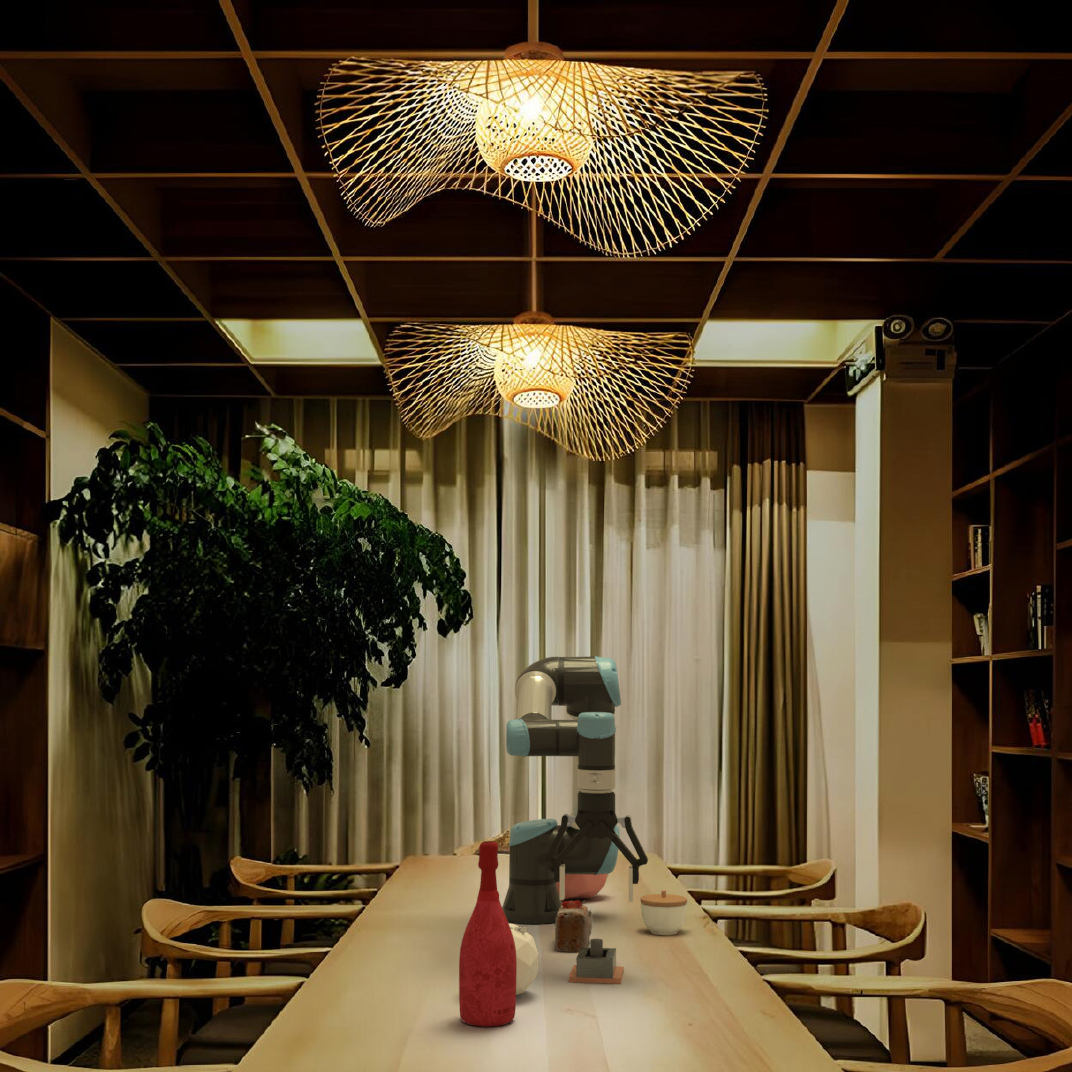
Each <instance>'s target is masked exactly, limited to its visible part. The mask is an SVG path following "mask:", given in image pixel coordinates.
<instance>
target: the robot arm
mask: <svg viewBox="0 0 1072 1072" xmlns="http://www.w3.org/2000/svg"><path fill="white" fill-rule="evenodd" d="M619 681H620V680H619V674H618V668H617V663H616V661H615V660H614V659H613V658H612V657H604V656H603V657H602V656H598V655H595V656H549V657H545V658H542V659H539V660H537V661H535V662H533V663H532V664H530V665H528V666H527V667H525V669H524V670H523V671H521V672H520V674H519V675H518V677H517V679H516V681H515V686H514V696H515V698H516V700H517V702H518V704H517V714H516V715H517V716H516V719H510V720H508V721H507V723H506V726H505V727H506V729H505V730H506V735H505V739H506V740H505V741H506V743H505V746H506V753H507V754H508V755H510V756H511V757H512V756H514V757H515V756H516V757H522V758H526V757H572V783H571V785H572V789H571V790H572V791H571V792H572V794H571V795H572V799H571V800H572V801H571V803H572V804H571V805H572V806H571V807H572V808H571V809H572V810H571V813H570V814H568V813H565V814H563V815H562V816H561V820H560V821H561V822H560V824H559V825H558V823H559V822H558V821H557V819H556V818H542V819H541V818H540V819H532V820H527V821H526V820H525V821H522V822H518V823H515V824H514V825H512V826H511V828H510V830H509V843H508V846H509V859H508V860H509V863H508V866H509V868H508V869H509V871H508V873H509V875H508V883H509V884H508V888H507V891H506V895H505V898H504V901H503V904H502V909H503V911H504V914H505V916H506V918H507V921H508V923H510V922H511V923H514V924H528V925H530V924H531V925H532V924H533V925H535V924H536V925H540V924H550V923H555V921H556V920H555V918H556V917H557V916H556V915H557V913H558V911H559V909H560V907H561V905H562V903H563V901H565V900H564V898H565V874H590V875H598V874H609V875H610V874H611V873H613V872H614V870H615V868H616V867H617V860H618V856H619V855H618V853H619V852H621V855H623V856H624V858H626V860H627V861H628V862H629V864H630V865H629V866H628V903H633V902H634V885H639V881H640V867H642V866H644V865H647V864H648V861H649V858H648V857H647V854H646V852H645V849H644V848H643V846H642V844H641V841H640V839H639V838H638V835H637V834H636V832H635V829H634V827H633V824H632V823H633V822H632V816H631V815H629V814H627V815H625V816H617V814H616V793H615V792H614V791H613V790H615V789H616V765H615V764H616V762H615V761H616V733H617V732H616V731H617V728H616V721H615V720H616V719H615V714H616V708H618V707H620V706H621V705H622V700H621V688H620V684H619ZM553 706H559V707H560V706H561V707H566V715H568V716H569V717H570V718H571V719H552V716H553V714H552V713H553V712H552V707H553ZM618 824H620V825H621V827H622V828H623V829H625V831H626V833H627V835H628V837H629V840H630V842H631V844H632V847H634V850H635V852H636V854H637V856H638V858H637V857H636V856H635V855H634V854H633V853H632V851H631V850H630V849H629V848H628V847H627V845H626V844H625V843H624V841H623V840H622V838H620V827H619V826H618ZM557 882H560V895H559V892H558V888H557Z"/></svg>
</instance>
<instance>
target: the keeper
mask: <svg viewBox="0 0 1072 1072" xmlns="http://www.w3.org/2000/svg"><path fill="white" fill-rule="evenodd" d="M603 941H604V940H603V939H601V938H591V939H590V948H591V957H603V948H604V947H603V945H604V942H603ZM624 969H625V968H624V966H623V965H622V966H621V965H618V966H617V965H616V969H615V972H614V976H613V978H587V977H576V964H573V965H572V968H571V970H570V973H569V975H568V983H586V984H587V983H588V984H612V985H614V984H617V985H621V984H622V980H623V977H624V972H625V970H624Z"/></svg>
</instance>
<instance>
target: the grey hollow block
mask: <svg viewBox="0 0 1072 1072" xmlns="http://www.w3.org/2000/svg"><path fill="white" fill-rule="evenodd" d="M575 961H576V964H575V965H576V977H587V978H613V976H614V972H615V969H616V966H617V948H616V947H615V948H614V947H609V948H608V947H603V957H591V947H589V946H588V947H581V949H580V951H579V952H577V957H576V959H575Z"/></svg>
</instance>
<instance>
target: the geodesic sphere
mask: <svg viewBox="0 0 1072 1072" xmlns="http://www.w3.org/2000/svg"><path fill="white" fill-rule="evenodd" d="M509 926H510V929H511V931H512V935H513V938H514V942H515V947H516V962H517V974H516V996H517V995H520V994H523V993H525V992H526V991H527V989H528V988H529V986H530V985H531V984H532V982H533V981H534V980H535V979H536V977H537V975H538V966H539V952H538V949H537V946H536V942H535V939H534V936H532V935H531V934H530V933H528V932H527V930H528V929H529V928H528V927H527V926H524V925H523V926H521V925H519V926H518V925H517V924H515V923H514V924H513V923H509Z"/></svg>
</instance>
